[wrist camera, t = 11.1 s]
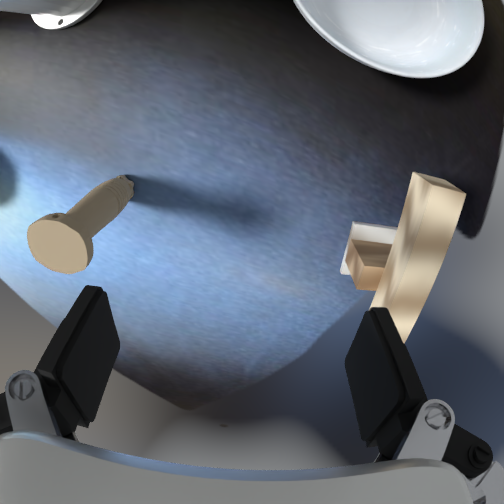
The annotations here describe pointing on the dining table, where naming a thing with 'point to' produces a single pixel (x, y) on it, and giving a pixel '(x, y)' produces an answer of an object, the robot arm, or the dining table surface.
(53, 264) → the handle
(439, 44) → the serving bowl
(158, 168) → the dining table surface
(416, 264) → the beam
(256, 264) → the dining table surface
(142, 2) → the dining table surface
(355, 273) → the wooden block on base
